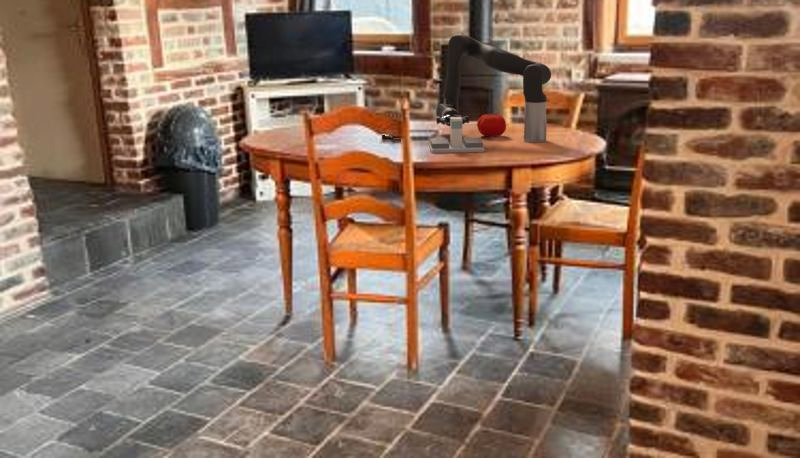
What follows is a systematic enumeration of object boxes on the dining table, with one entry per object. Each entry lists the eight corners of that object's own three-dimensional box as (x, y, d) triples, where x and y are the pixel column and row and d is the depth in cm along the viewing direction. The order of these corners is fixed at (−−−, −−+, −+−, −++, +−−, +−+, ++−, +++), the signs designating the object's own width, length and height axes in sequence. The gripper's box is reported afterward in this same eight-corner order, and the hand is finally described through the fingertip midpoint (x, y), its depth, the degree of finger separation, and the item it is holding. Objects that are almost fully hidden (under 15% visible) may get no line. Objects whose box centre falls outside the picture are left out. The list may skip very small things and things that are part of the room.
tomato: (505, 134, 362) (505, 111, 359) (506, 138, 351) (506, 115, 348) (476, 134, 364) (477, 111, 361) (476, 138, 352) (476, 115, 349)
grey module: (461, 145, 330) (461, 117, 327) (462, 147, 325) (462, 118, 321) (450, 145, 330) (450, 117, 326) (451, 147, 325) (451, 119, 321)
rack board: (479, 144, 336) (479, 136, 335) (484, 151, 320) (484, 143, 319) (429, 146, 335) (428, 138, 334) (431, 152, 320) (431, 144, 319)
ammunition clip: (405, 138, 356) (404, 112, 353) (405, 139, 354) (404, 112, 351) (381, 138, 356) (381, 112, 353) (381, 139, 355) (380, 113, 351)
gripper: (434, 108, 350) (437, 113, 335) (466, 108, 351) (470, 112, 335) (434, 125, 352) (437, 131, 337) (466, 124, 353) (470, 130, 337)
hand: (453, 122), depth 336 cm, fingers open, 8 cm apart
